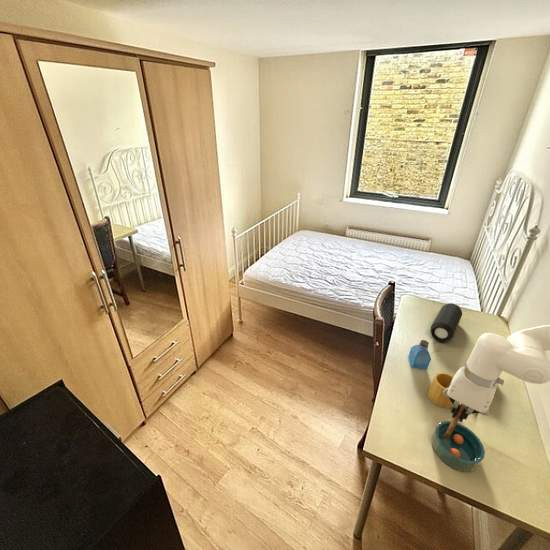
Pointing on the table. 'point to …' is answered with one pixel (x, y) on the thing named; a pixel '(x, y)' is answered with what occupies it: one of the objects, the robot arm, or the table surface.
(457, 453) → the dough ball
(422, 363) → the perfume bottle
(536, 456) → the table surface
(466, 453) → the bowl
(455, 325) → the portable speaker
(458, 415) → the stirring stick
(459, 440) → the dough ball
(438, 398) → the utensil pot
